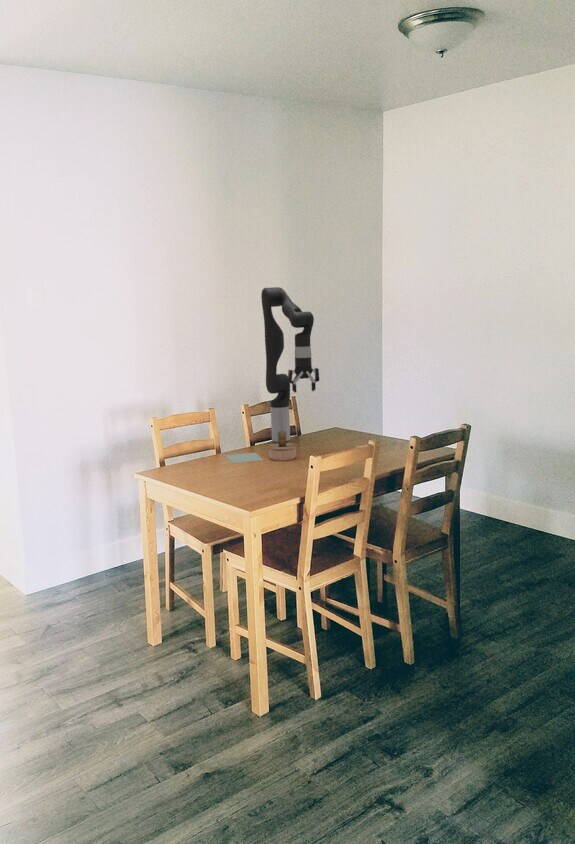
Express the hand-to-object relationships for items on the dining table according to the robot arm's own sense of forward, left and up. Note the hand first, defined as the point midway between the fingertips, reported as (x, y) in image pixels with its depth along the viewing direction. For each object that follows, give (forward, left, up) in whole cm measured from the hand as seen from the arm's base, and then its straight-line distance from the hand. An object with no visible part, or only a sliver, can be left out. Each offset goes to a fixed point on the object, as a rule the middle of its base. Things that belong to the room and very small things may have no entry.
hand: (304, 391), depth 326 cm
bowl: (+12, -14, -28) cm, 33 cm away
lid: (+12, -14, -23) cm, 29 cm away
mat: (+5, -30, -28) cm, 41 cm away
